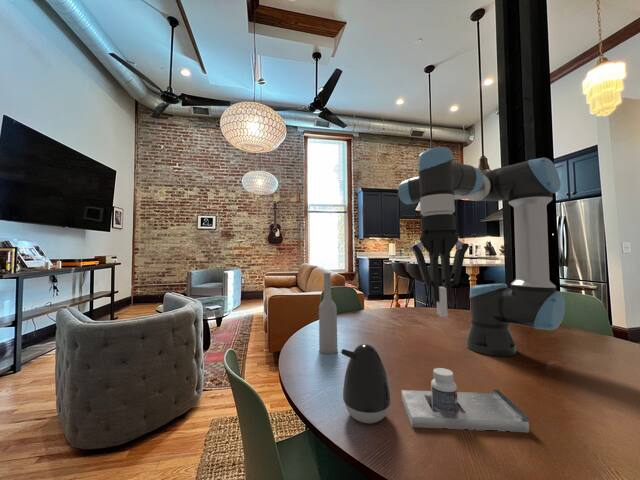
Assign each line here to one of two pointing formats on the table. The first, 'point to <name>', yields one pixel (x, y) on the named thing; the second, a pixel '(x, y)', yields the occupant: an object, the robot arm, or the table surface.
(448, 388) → the pill bottle
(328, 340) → the bottle
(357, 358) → the pump dispenser
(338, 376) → the table surface
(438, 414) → the jig
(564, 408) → the table surface
